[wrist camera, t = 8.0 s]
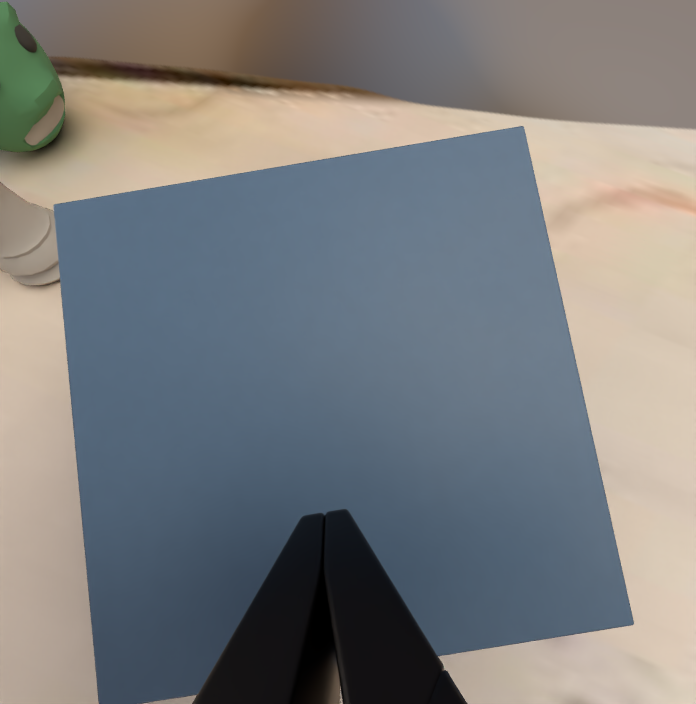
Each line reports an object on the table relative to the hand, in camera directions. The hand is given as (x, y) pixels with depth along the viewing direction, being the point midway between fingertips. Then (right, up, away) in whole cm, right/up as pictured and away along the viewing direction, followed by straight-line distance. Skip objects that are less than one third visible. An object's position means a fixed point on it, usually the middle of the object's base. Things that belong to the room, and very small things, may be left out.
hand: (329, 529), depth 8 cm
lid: (0, +2, +4) cm, 5 cm away
